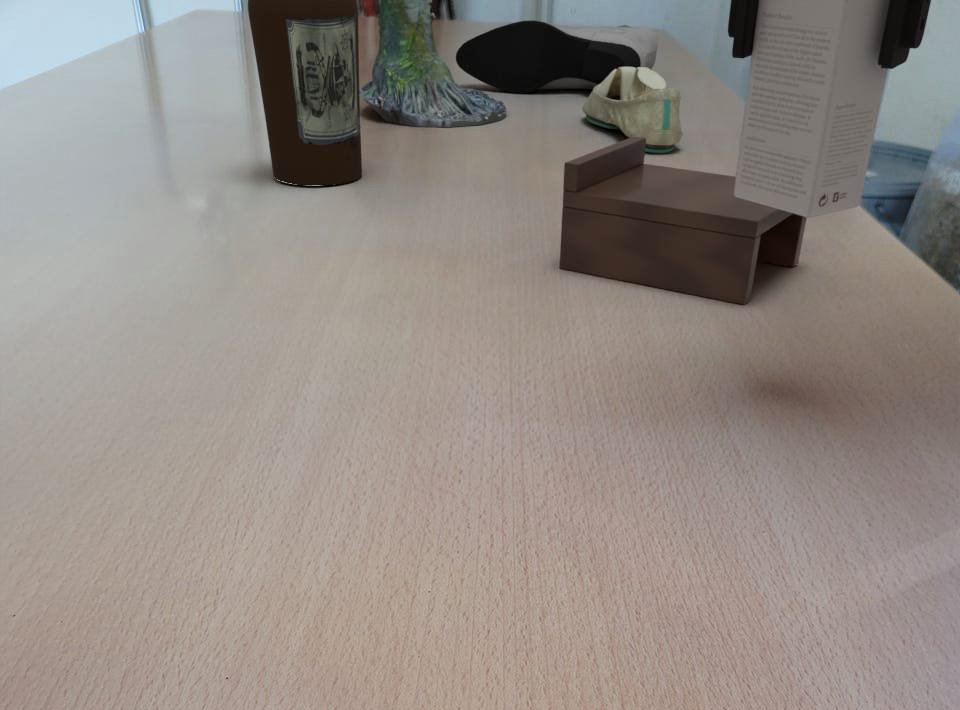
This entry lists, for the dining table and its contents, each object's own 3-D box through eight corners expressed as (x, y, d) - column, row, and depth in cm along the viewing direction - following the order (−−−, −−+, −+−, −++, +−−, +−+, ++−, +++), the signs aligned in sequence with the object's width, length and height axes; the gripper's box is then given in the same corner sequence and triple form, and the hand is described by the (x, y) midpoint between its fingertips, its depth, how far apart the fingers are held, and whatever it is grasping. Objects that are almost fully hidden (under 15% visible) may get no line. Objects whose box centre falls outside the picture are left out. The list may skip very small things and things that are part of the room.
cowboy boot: (641, 36, 139) (672, 19, 158) (455, 10, 144) (507, -3, 163) (629, 112, 144) (661, 87, 163) (451, 83, 150) (502, 63, 169)
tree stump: (452, 138, 125) (415, -31, 116) (342, 159, 137) (301, 8, 128) (534, 108, 136) (506, -48, 127) (425, 130, 148) (393, -11, 139)
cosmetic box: (862, 208, 56) (916, -54, 48) (807, 221, 54) (855, -49, 46) (782, 185, 60) (821, -59, 52) (729, 196, 58) (761, -55, 51)
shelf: (798, 264, 83) (818, 159, 78) (744, 305, 75) (763, 191, 70) (625, 234, 90) (633, 136, 85) (559, 268, 82) (564, 162, 77)
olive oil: (252, 173, 108) (215, -117, 93) (339, 161, 113) (318, -117, 97) (294, 194, 101) (261, -117, 86) (386, 180, 106) (370, -117, 90)
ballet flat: (627, 114, 135) (632, 49, 131) (706, 153, 117) (716, 78, 112) (569, 117, 134) (572, 51, 129) (640, 157, 115) (647, 81, 110)
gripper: (1145, -447, 40) (1009, 61, 51) (734, -390, 48) (692, 40, 59) (1121, -487, 35) (976, 84, 46) (668, -416, 43) (636, 58, 54)
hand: (818, 56), depth 52 cm, fingers closed on cosmetic box, 7 cm apart
